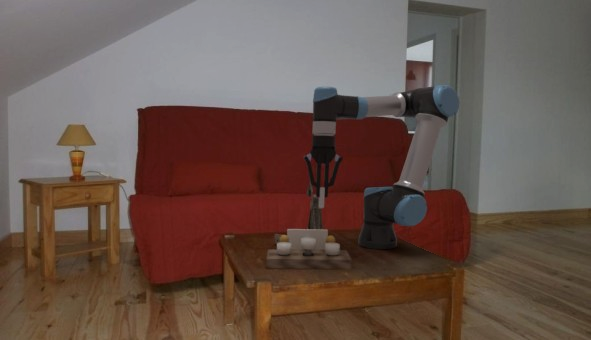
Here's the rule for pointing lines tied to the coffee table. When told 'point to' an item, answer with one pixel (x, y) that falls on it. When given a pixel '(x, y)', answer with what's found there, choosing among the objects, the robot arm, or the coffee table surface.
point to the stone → (277, 238)
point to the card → (297, 234)
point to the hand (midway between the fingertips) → (321, 207)
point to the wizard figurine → (314, 211)
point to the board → (308, 260)
